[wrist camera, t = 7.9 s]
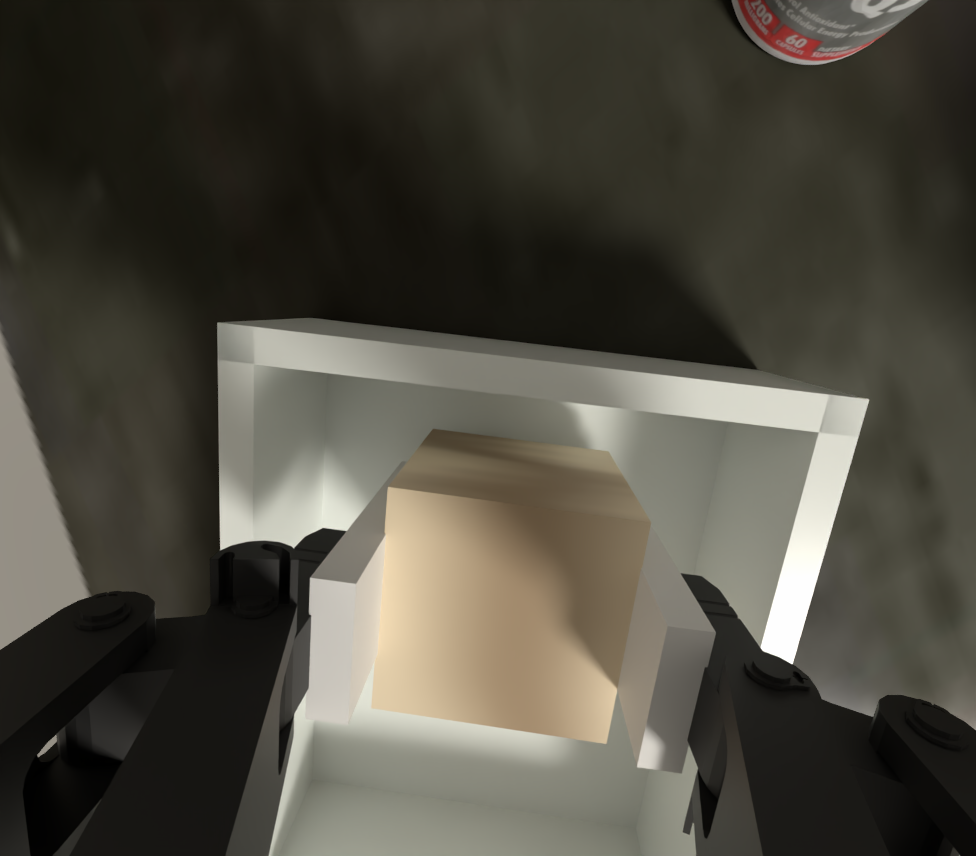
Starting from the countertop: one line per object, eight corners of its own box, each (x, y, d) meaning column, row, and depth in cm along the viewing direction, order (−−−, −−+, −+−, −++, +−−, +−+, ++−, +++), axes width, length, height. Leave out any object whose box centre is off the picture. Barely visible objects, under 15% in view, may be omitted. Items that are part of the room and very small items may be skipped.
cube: (418, 586, 16) (370, 708, 11) (432, 428, 15) (387, 486, 10) (580, 608, 16) (606, 744, 11) (608, 451, 14) (651, 522, 10)
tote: (311, 317, 16) (217, 322, 11) (759, 370, 15) (869, 399, 10) (297, 779, 20) (225, 931, 15) (649, 832, 19) (692, 1008, 15)
